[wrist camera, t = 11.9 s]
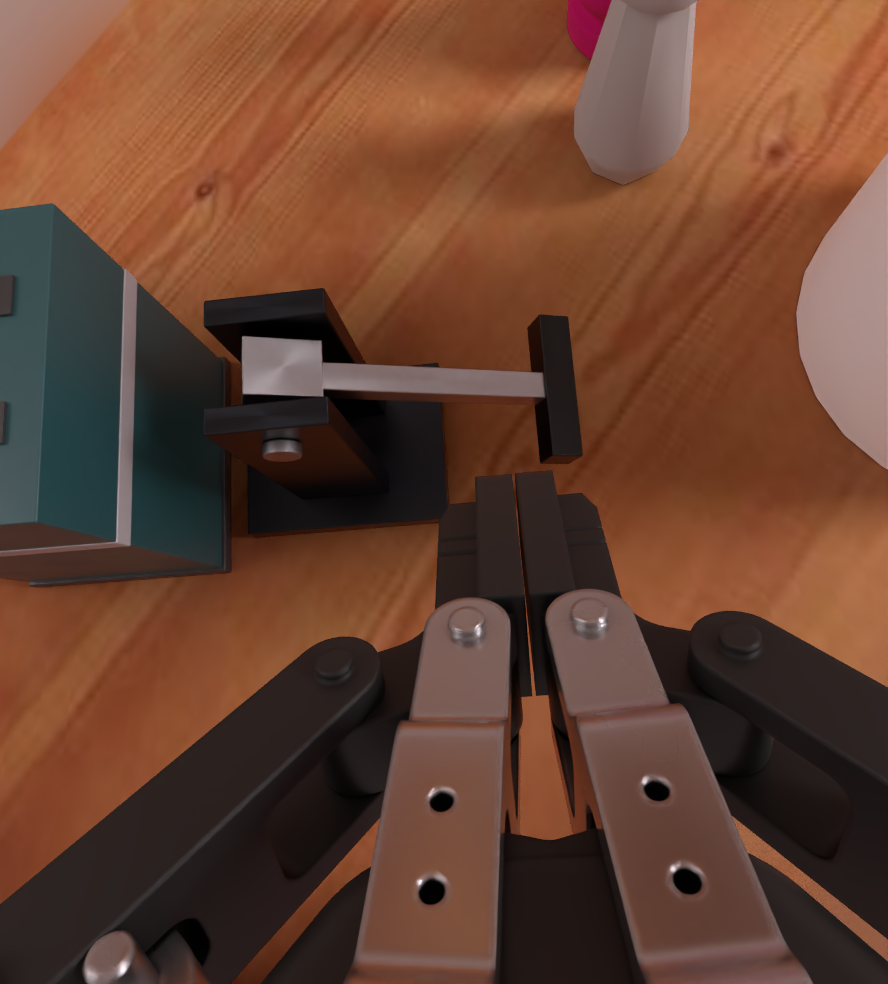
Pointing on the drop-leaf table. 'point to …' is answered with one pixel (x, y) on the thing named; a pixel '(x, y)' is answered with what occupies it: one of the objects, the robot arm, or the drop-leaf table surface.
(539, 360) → the lever
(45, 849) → the drop-leaf table surface
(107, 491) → the toaster
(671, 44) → the salt shaker
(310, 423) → the bracket
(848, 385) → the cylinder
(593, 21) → the pepper mill
